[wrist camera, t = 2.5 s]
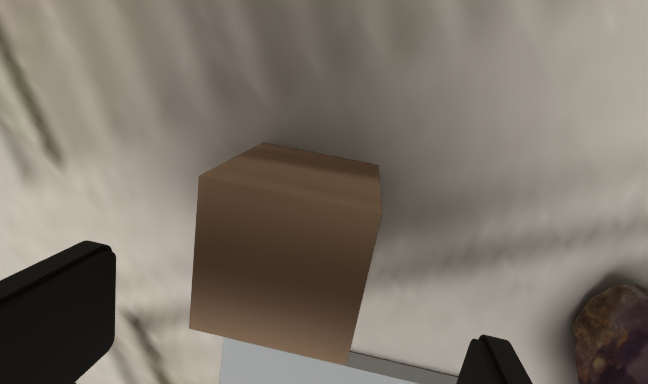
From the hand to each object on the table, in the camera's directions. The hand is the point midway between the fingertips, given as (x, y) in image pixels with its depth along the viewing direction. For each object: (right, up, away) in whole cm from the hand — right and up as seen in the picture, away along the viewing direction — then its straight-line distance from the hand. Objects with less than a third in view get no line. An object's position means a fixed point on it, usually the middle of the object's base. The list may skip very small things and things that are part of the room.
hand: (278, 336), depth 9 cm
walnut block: (+1, +3, +7) cm, 8 cm away
